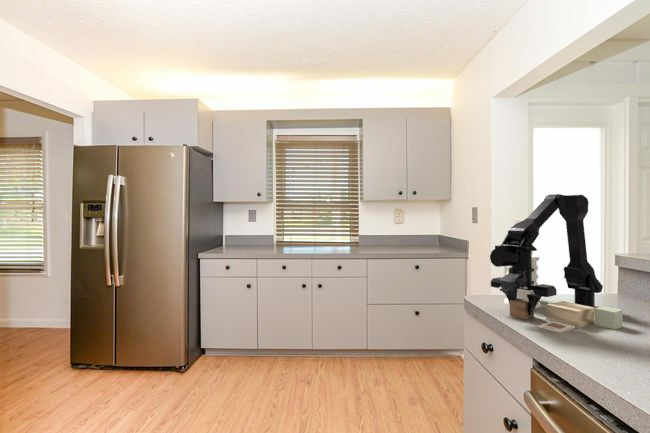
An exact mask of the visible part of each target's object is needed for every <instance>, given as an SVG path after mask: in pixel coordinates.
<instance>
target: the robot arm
mask: <svg viewBox="0 0 650 433" xmlns="http://www.w3.org/2000/svg"><path fill="white" fill-rule="evenodd" d="M556 211H558V212H559V215H560V216H561V217H562V218H563V219H564V221H565V226H566V227H565V228H566V236H567V246H568V256H569V262H568V264H567V265H566V266H564V267H563V273H564V276H563V277H564V279H565V282H566V285H567V288H568V289H570V290H571V289H572V290H574V303H575V304H579V305H584V306H589V307H594V311H595V308H598V307H599V306H598V305H596V304H595V302H596V300H595V299H596V296H595V294H600V293H602V291H603V287H604V286H603V285H602V284H601V282H600V281H599V279H598V278H597V276H596V272H595V269H594V267H593V266H592V264H590V263H589V261H588V253H587V244H586V234H585V233H586V232H585V224H584V219H585V218H586V216H587V214H588V213H589V199H588V198H587V197H586V196H585V195H583V194H573V195H572V194H570V195H569V194H568V195H567V194H566V195H565V194H561V193H557V194H556V193H555V194H547V195H546V196H545V197H544V199H543V201H541V203H540V204H538V206H537V207H535V209H534V210H533V211H532V212H531V213H530V214H529V215H528V216H527V217H526V218H525V219H524V220H522V221H519V222H516V223H515V224H514V225H513V226H511V227H510V228H509V229H508V230H507V234H506V236H505V237H504V239H503V241H502V242H501V243H500V244H495V245H494V248H493V249H492V250H491V252H490V254H489V258H490V259H489V260H490V263H491V264H492V265H493V266H494V267H495V268H496V267H498V268H499V267H504V266H512V268H509V273H508V274H507V275H505V274H504V275H503V277H494V278H491V280H490V287H491V288H496V289H498V290H499V291H500V292H502V293H503V294H504V295H505V296H506V298H508V301H509V303H510V300H513V299H517V290H518V289H523V290H528V291H530V294H527V297H528V314H529V315H532V313H533V311H534V312H535V310H536V309H535V307H536V305H537V303H538V301H539V302H540V300H541V298H542V297H544V298H551V297H553V296H557V290H558V289H557V288H556V287H555V285H552V284H543V283H542V284H538V285H536V286H534V285H532V284H534V281H532V272H533V271H534V268H532V255H533V252H536V251H538V249H537V248H536V247H535V246H534V245H533V243H535V242H536V240H537V238H538V236H539V235H540V229H541V227H542V226H543V225H544V224H545V223H546V222H547V221H548V219H550V217H551V216H552V215H553V214H554V213H555V212H556Z"/></svg>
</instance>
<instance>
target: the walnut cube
mask: <svg viewBox="0 0 650 433" xmlns="http://www.w3.org/2000/svg"><path fill="white" fill-rule="evenodd" d="M509 316H510V317H515V318H518V319H522V320H528V319H532V318H534V317H535V310H534V311H533V313H532V315H529V314H528V300H525V299H520V298H517V299H513V300H510V306H509Z"/></svg>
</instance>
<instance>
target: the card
mask: <svg viewBox="0 0 650 433" xmlns="http://www.w3.org/2000/svg"><path fill="white" fill-rule="evenodd" d="M538 328H540V329H543V330H547V331H551V332H554V333H559V334H563V333H565V332H567V331H571V330H575V329H576V327H575V326H571V325H567V324H562V323H558V322H554V321H549V322H546V323H542V324H539V325H538Z"/></svg>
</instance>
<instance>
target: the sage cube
mask: <svg viewBox="0 0 650 433" xmlns="http://www.w3.org/2000/svg"><path fill="white" fill-rule="evenodd" d="M594 319H595V323H594V326H597V327H598V326H599V327H602V328H607V329H611V330H617V329H619V328H622V327H623V309H620V308H614V307H610V306H603V305H602V306H598V308H595V310H594Z"/></svg>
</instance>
